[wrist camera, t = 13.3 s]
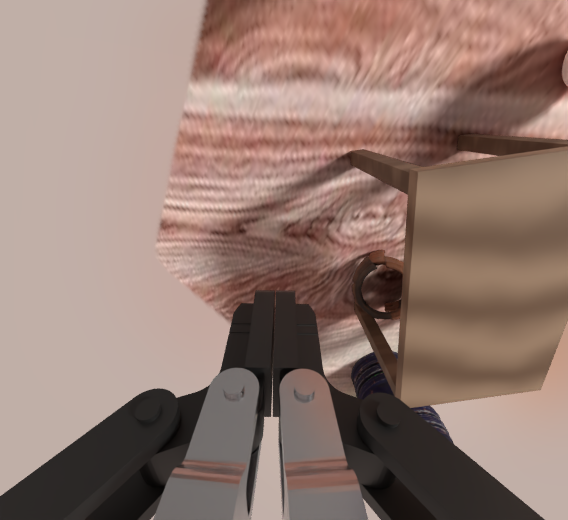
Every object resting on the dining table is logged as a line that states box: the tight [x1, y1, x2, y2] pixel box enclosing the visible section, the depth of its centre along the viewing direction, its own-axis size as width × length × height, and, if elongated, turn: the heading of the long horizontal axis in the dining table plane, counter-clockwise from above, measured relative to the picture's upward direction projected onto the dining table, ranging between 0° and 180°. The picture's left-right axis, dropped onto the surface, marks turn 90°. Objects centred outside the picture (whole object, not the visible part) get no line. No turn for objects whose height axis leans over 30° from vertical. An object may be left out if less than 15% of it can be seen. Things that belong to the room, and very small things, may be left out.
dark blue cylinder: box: [351, 351, 453, 443], centre depth 42 cm, size 10×10×15 cm
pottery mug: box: [352, 250, 404, 320], centre depth 38 cm, size 12×10×8 cm
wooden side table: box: [351, 134, 568, 408], centre depth 30 cm, size 23×14×16 cm, turn 8°
